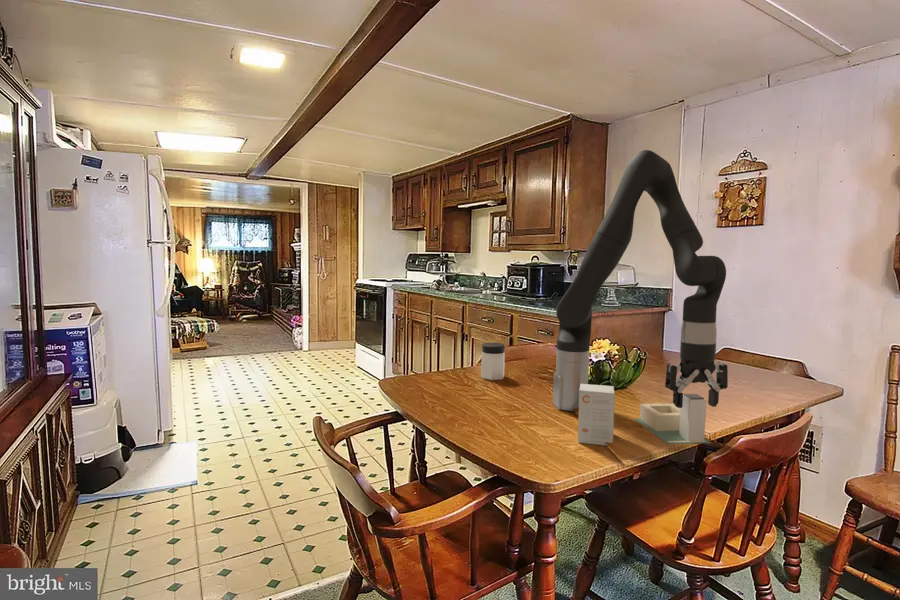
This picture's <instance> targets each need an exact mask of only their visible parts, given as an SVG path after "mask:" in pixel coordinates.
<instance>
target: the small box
mask: <svg viewBox="0 0 900 600" xmlns="http://www.w3.org/2000/svg"><path fill="white" fill-rule="evenodd" d="M615 396H616V392H615V387H614V386H613V385H604V384H603V385H601V384H590V383H588V384H580V389H579V408H578V421H577V423H578V427H577V428H578V429H577V442H578V443H579V444H587V445H588V444H589V445H598V446H607V447H609V444H608V443H610V444H613V443H614V427H615V426H614V425H615V402H616V401H615V399H616V397H615Z"/></svg>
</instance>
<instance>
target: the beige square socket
mask: <svg viewBox="0 0 900 600" xmlns="http://www.w3.org/2000/svg"><path fill="white" fill-rule="evenodd" d="M639 406H640V407H639V418H640V419H641V420H642V421H644V422H645V423H646V424H648V425H649V426H650V427H652V428H653V429H654V430H655V431H679V423H680V408H678V407H676V406H675V404H673V403H659V402H653V403H640V405H639Z"/></svg>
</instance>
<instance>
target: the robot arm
mask: <svg viewBox="0 0 900 600" xmlns="http://www.w3.org/2000/svg"><path fill="white" fill-rule="evenodd" d="M644 192H646V193H647V194H648V195H649V197H651V199H652V201H654V203H655V204H656V206H657V209H658V212H659V216H660V217H659V218H660V223H661V228H662V229H661V230H662V231H663V234H664V236H665V238H666V240H667V242H668V244H669V246H670V247H671V249H672V257H673V263H674V270H675V274H676V277H677V278H678V280H679V281H680V282H681V283H682V284H684V285H685V286H690V287H697V290H696V292H695V293H694V294H692V295H689V296H687V297H686V298H684V300H683V305H682V323H681V327H680V328H681V329H680V347H679V348H680V349H679V350H680V351H679V357H680V358H679V359H680V362H679V364H672V363H668V364H667V365H666V372H665V382H664V383H665V384H664V387H665V388H666V389H668V390H670V391H672V404H674V405H675V406H676V407H678V408H682V405H683V395H684V392H683V391H684V390H685V388H686V387H688V386H690V384H697V383H706V385H707V386H708V388H709V389H708V395H707V396H708V400H707V405H709V406H710V407H712V408H716V407H717V405H718V404H719V399H720V398H719V397H720V391H721V390H727V388H728V384H729V383H728V381H729V380H728V379H729V378H728V376H729V375H728V365H727V364H725V363H723V362H720V361H718V362H716V363H715V361H716V356H717V354H716V353H717V335H718V334H717V305H718V302H719V300H720V297H721V294H722V291H723V287H724V284H725V283H726V282H725V281H726V277H727V267H726V264H725V262H724V261H723V259H722V258H720V257H719V256H716V255H697V254H696V252H698V251H699V250H700V249H701V248H702V246H703V245H704V240H703V236H702V235H701V233H700V231H699V229H698V227H697V225H696V224H695V222H694V219H693V218H692V216H691V215H690V212H689V211H688V209H687V207H686V205H685V203H684V200H683V198H682V196H681V193H680V190H679V188H678V184H677V180H676V176H675V174H674V171H673V168H672V165H671V164H670V163H669V161H667V160H666V159H665V158H664V157H662V156H661V155H658V154H657V153H656V152H654V151H653V150H650V149H643V150H641V151H639V152H638V153H636V154H635V155H633V157H632V158H631V159H630V161H628V164H627V165H626V168H625V169H624V172H623V174H622V177H621V179H620V181H619V185H618V187H617V190H616V191H615V194H614V195H613V199H612V200H611V203H610V204H609V207H608V209H607V211H606V213H605V215H604V217H603V219H602V220H601V223H600V225H599V226H598V228H597V230H596V232H595V234H594V235H593V238H592V239H591V242H590V243H589V245H588V248H587V249H586V252H585V254H584V256H583V259H582V261H581V263H580V266H579V267H578V271H577V273H576V276H575V277H574V279H573V280H572V282H571V284H570V285H569V287H568V289H567V290H566V292H565V293H564V294H563V296H562V297H561V299H560V300H559V302H557V306H556V313H555V314H556V317H557V320H558V322H559V325H558V335H557V339H556V359H555V362H556V365H555V372H553V388H552V389H553V390H552V391H553V393H552V404H553V405H554V406H555V408H556V409H557V410H561V411H569V412H575V409H576V410H577V409H578V410H579V389H580V384H589V372H590V371H589V370H590V369H589V366H590V364H589V363H590V344H591V343H590V342H591V337H592V320H593V309H592V307H593V304H594V302H595V299H596V297H597V296H598V293H599V291H600V289H601V288H602V286H603V284H604V283H605V282H606V281H607V279H608V278H609V276H610V275H611V274H612V272H613V271H614V270H615V269H616V267H617V265H618V264H619V262H620V261H621V259H622V257H623V256H624V254H625V252H626V250H627V248H628V246H629V245H630V242H631V240H632V235H633V231H634V229H633V228H634V222H635V221H634V218H635V213H636V207H637V206H638V203H639V201H640V199H641V197H642V195H643V193H644ZM679 372H680V374H679ZM714 372H716V379H715V378H714V376H713V373H714ZM678 374H679V375H678ZM677 375H678V377H677Z"/></svg>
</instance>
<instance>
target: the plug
mask: <svg viewBox="0 0 900 600" xmlns="http://www.w3.org/2000/svg"><path fill="white" fill-rule="evenodd" d="M707 404H708V400H707V399H706V398H705V397H703V396H702V395H699V394H697V393H683V405H682V408H680V423H679V435H680V436H682V437H683V438H685V439H686V440H687V441H694V440H704V438H705V432H706V431H705V430H706V418H707V417H706V416H707V414H706V413H707Z"/></svg>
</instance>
